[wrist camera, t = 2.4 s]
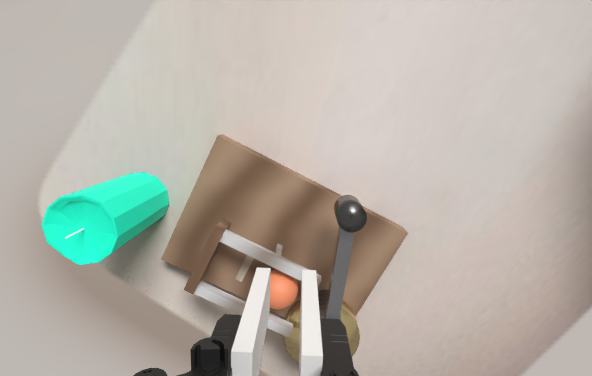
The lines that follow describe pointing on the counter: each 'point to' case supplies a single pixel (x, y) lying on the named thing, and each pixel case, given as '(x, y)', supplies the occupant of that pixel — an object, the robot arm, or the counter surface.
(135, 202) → the candle
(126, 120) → the counter surface
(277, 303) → the ball
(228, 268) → the stand
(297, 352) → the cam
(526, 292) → the counter surface
